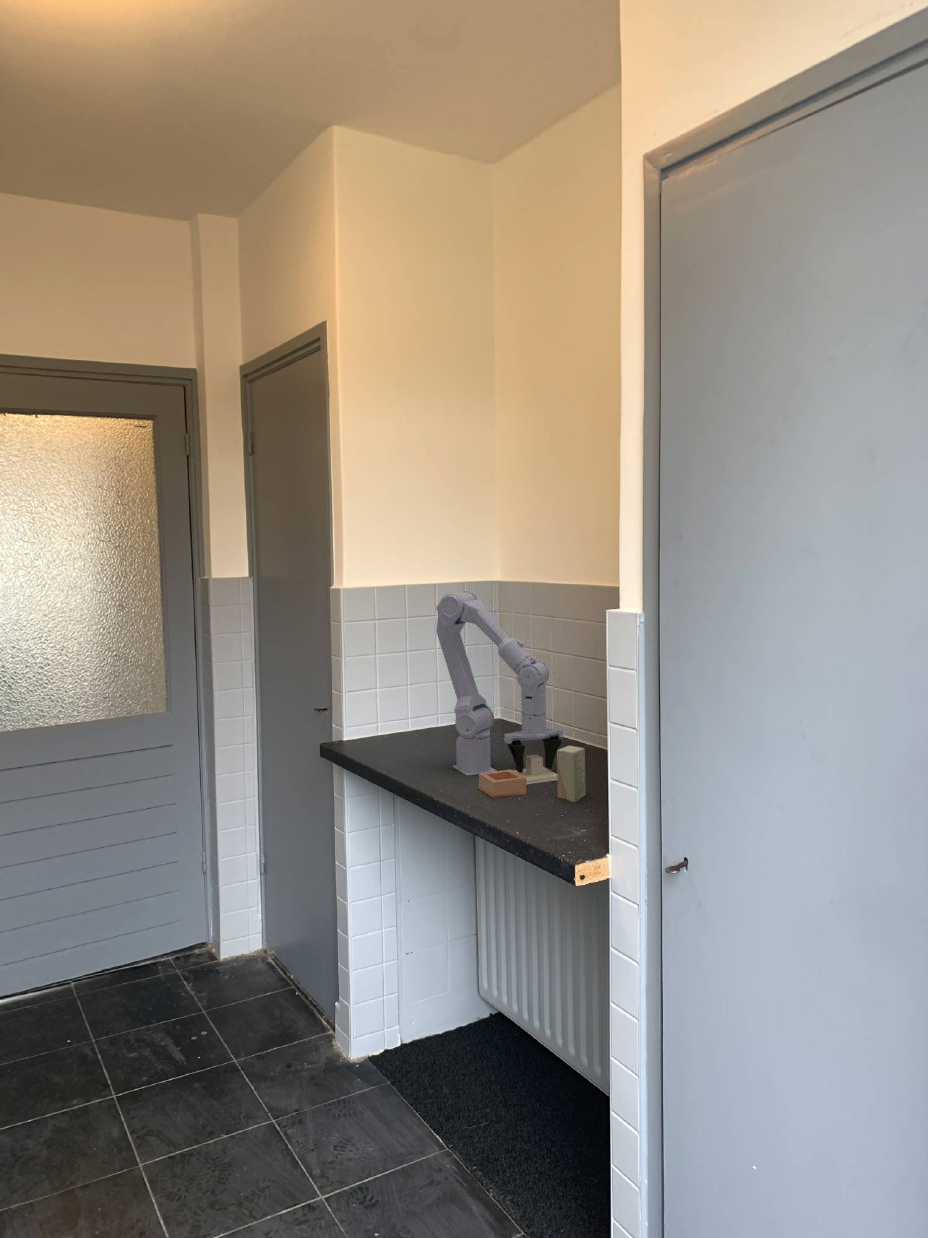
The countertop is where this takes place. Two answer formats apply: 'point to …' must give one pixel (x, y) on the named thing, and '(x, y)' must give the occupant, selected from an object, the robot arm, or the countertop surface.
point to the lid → (536, 770)
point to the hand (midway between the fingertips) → (534, 770)
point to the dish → (502, 784)
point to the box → (571, 773)
